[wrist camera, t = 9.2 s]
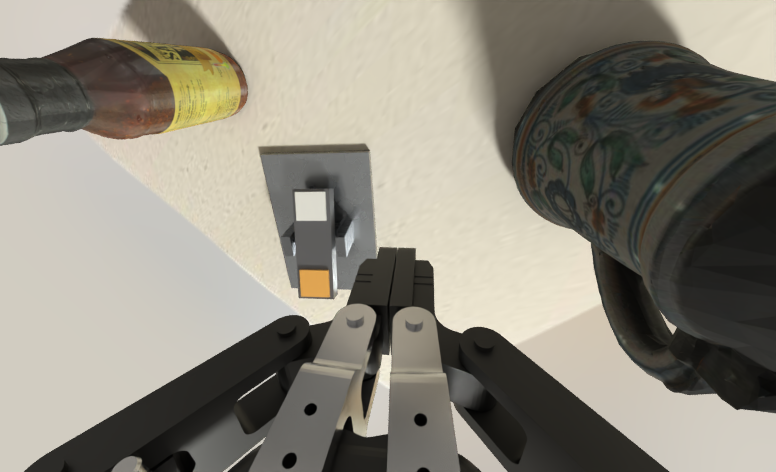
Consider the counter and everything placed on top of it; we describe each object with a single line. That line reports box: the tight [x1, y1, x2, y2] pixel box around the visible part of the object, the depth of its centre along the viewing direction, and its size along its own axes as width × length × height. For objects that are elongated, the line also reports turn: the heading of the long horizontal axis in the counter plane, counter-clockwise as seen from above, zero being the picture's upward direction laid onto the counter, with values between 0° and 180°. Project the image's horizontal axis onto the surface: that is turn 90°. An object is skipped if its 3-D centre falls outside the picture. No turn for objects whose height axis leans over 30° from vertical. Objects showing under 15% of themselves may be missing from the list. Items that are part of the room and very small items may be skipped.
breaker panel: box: [260, 151, 377, 290], centre depth 36 cm, size 18×12×5 cm, turn 3°
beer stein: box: [512, 41, 776, 413], centre depth 20 cm, size 16×19×25 cm
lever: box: [292, 189, 338, 299], centre depth 34 cm, size 12×4×2 cm, turn 2°
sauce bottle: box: [0, 38, 248, 146], centre depth 23 cm, size 6×6×20 cm
